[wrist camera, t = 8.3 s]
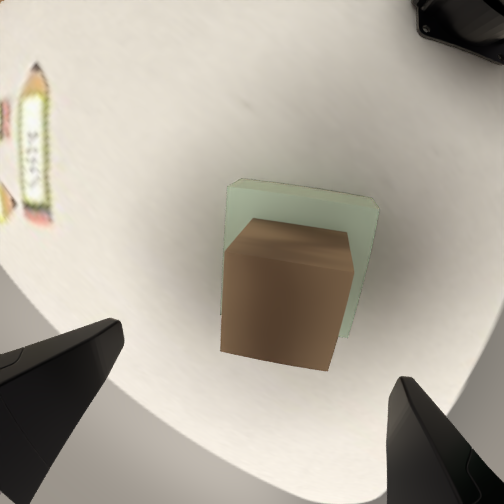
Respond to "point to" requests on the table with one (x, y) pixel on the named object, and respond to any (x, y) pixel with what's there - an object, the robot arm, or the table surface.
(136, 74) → the table surface
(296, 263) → the walnut cube
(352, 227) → the platform
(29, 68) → the table surface
